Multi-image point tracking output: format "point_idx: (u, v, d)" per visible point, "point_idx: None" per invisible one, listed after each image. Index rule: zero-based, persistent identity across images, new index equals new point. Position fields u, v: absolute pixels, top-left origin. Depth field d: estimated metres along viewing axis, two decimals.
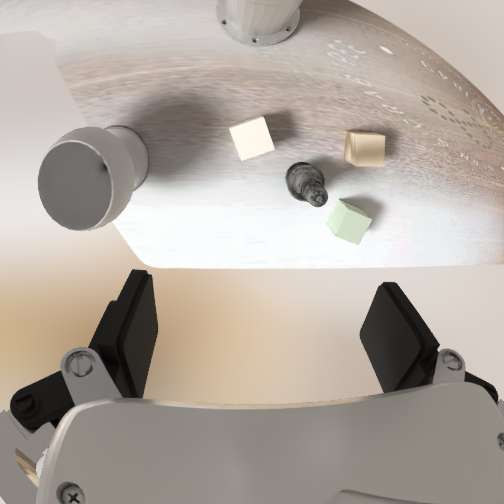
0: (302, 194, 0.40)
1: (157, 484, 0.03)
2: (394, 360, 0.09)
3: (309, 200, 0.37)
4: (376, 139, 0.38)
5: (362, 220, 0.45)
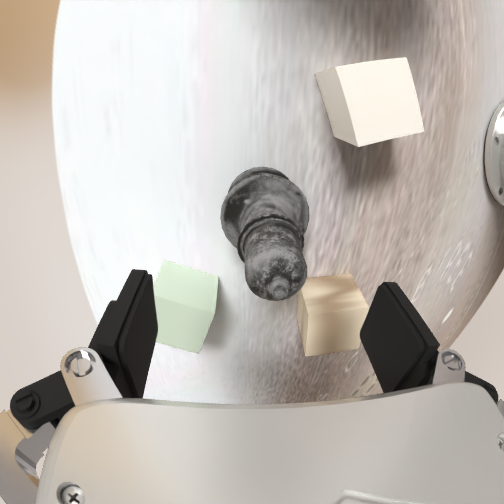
0: (261, 221, 0.15)
1: (157, 484, 0.03)
2: (393, 361, 0.09)
3: (268, 254, 0.12)
4: (354, 338, 0.23)
5: (195, 338, 0.22)
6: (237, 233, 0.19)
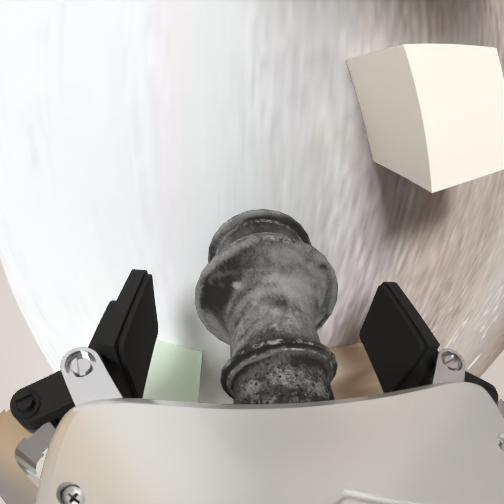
0: (264, 353, 0.07)
1: (157, 484, 0.03)
2: (393, 361, 0.09)
3: None
4: None
5: None
6: (223, 328, 0.11)
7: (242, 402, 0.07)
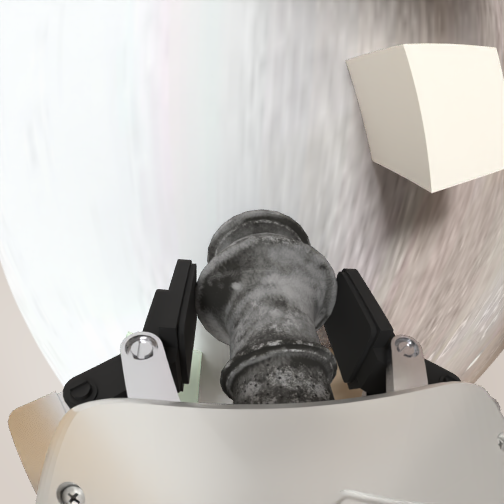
0: (263, 354, 0.07)
1: (157, 484, 0.03)
2: (350, 346, 0.10)
3: None
4: None
5: None
6: (222, 328, 0.11)
7: (242, 403, 0.07)
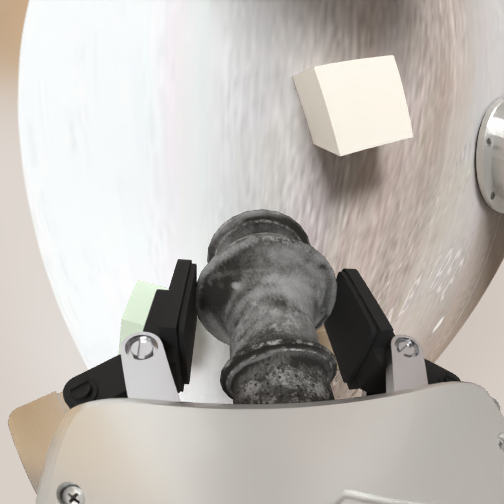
0: (263, 353, 0.07)
1: (157, 484, 0.03)
2: (350, 346, 0.10)
3: None
4: None
5: None
6: (222, 328, 0.11)
7: (242, 403, 0.07)
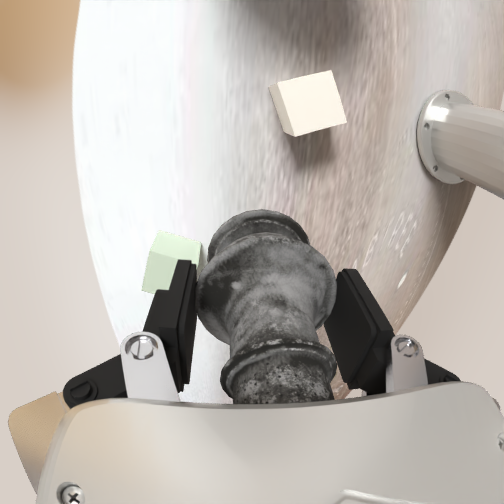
0: (263, 353, 0.07)
1: (157, 484, 0.03)
2: (350, 346, 0.10)
3: None
4: None
5: None
6: (222, 328, 0.11)
7: (242, 402, 0.07)
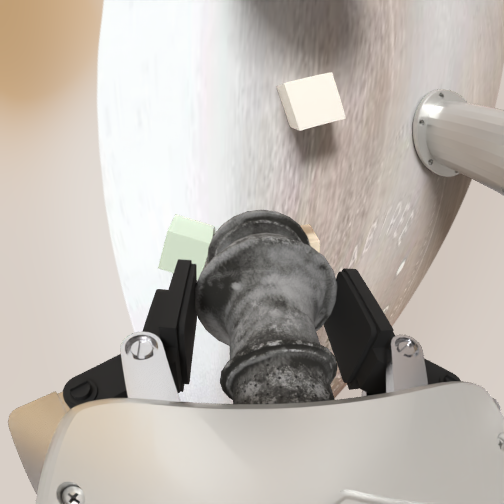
0: (263, 354, 0.07)
1: (157, 484, 0.03)
2: (350, 346, 0.10)
3: None
4: None
5: None
6: (222, 328, 0.11)
7: (242, 403, 0.07)
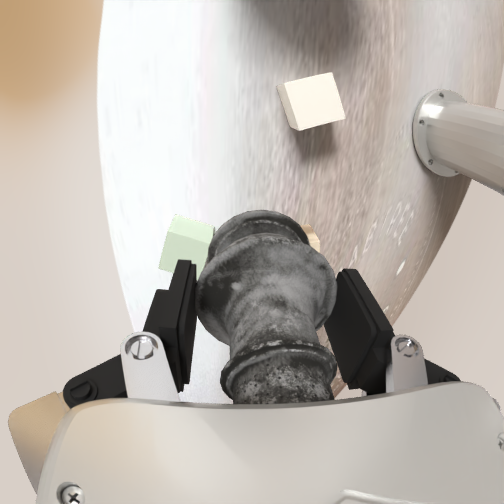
0: (263, 354, 0.07)
1: (157, 484, 0.03)
2: (350, 346, 0.10)
3: None
4: None
5: None
6: (222, 328, 0.11)
7: (242, 403, 0.07)
